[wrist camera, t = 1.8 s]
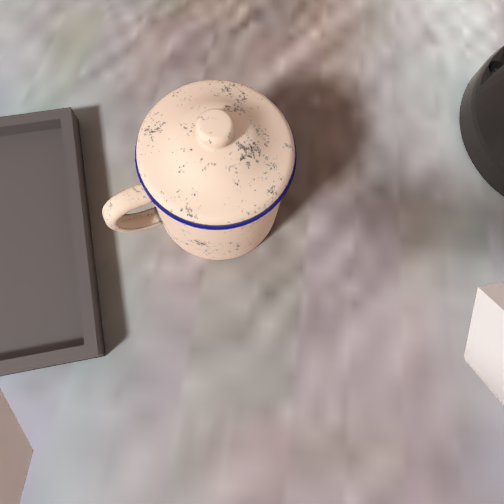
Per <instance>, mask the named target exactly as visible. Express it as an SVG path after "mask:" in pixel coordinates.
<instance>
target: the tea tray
mask: <svg viewBox="0 0 504 504" xmlns="http://www.w3.org/2000/svg"><path fill="white" fill-rule="evenodd" d="M102 356H105V347H104V338H103V330H102V321H101V312H100V304H99V295H98V286H97V278H96V269H95V260H94V251H93V243H92V234H91V225H90V217H89V208H88V199H87V191H86V182H85V173H84V165H83V156H82V147H81V139H80V130H79V121H78V119H77V117H76V116H75V114H74V112H73V110H72V109H71V107H70V108H62V109H55V110H48V111H41V112H33V113H26V114H19V115H12V116H4V117H0V376H4V375H9V374H14V373H19V372H25V371H30V370H35V369H40V368H45V367H50V366H56V365H61V364H66V363H71V362H76V361H81V360H87V359H92V358H97V357H102Z"/></svg>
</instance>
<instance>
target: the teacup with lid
mask: <svg viewBox="0 0 504 504" xmlns="http://www.w3.org/2000/svg"><path fill="white" fill-rule="evenodd" d="M135 162H136V169H137V173H138V177H139V179H140V182H141V184H138V185H136V186H133V187H131V188H128V189H126V190H123V191H121V192H119V193H118V194H116V195H114V196H113V197H112V198H111V199H109V200H108V201H107V202H106V203H105V205H104V206H103V209H102V214H103V218H104V220H105V222H106V224H107V226H108V227H109V228H111V229H113V230H115V231H119V232H137V231H142V230H146V229H149V228H152V227H155V226H157V225H160V224H164V227H165V229H166V231H167V232H168V234H169V235H170V236H171V238H172V239H173V240H174V241H175V242H176V243H177V244H178V245H179V246H180V247H181V248H183V249H184V250H186V251H187V252H189V253H191V254H193V255H196V256H198V257H201V258H206V259H212V260H225V259H232V258H235V257H239V256H241V255H244V254H246V253H248V252H249V251H251V250H253V249H254V248H255V247H257V246H258V245H259V244H260V243H261V242H262V241H263V240H264V239H265V237H266V236H267V235H268V233H269V232H270V230H271V228H272V226H273V223H274V220H275V217H276V214H277V211H278V208H279V205H280V202H281V199H282V198H283V196H284V195H285V194H286V192H287V190H288V188H289V186H290V184H291V182H292V179H293V176H294V172H295V167H296V147H295V141H294V137H293V134H292V131H291V129H290V127H289V125H288V123H287V121H286V119H285V117H284V116H283V114H282V113H281V111H280V110H279V109H278V108H277V107H276V106H275V104H273V103H272V102H271V101H270V100H269V99H268V98H267V97H265V96H264V95H263V94H261V93H259V92H258V91H256V90H254V89H252V88H250V87H248V86H245V85H243V84H240V83H236V82H232V81H225V80H204V81H198V82H193V83H190V84H187V85H184V86H182V87H180V88H178V89H176V90H174V91H172V92H171V93H169V94H167V95H166V96H165V97H163V98H162V99H161V100H160V101H159V102H158V103H157V104H156V105H155V106H154V107H153V108H152V109H151V111H150V112H149V113H148V115H147V116H146V118H145V120H144V122H143V124H142V126H141V128H140V131H139V134H138V137H137V142H136V148H135ZM150 202H153V203H154V204H155V206H156V207H154V208H151V209H148V210H145V211H142V212H138V213H134V214H126V213H127V212H129V211H131V210H133V209H135V208H137V207H140V206H142V205H145V204H148V203H150Z"/></svg>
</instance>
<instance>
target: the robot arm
mask: <svg viewBox="0 0 504 504" xmlns="http://www.w3.org/2000/svg"><path fill="white" fill-rule="evenodd" d="M460 129H461V134H462V139H463V142H464V145H465V148H466V150H467V152H468V155H469V157H470V159H471V160H472V162H473V164H474V165H475V167H476V168H477V170H478V171H479V173H480V174H481V175H482V176H483V178H484V179H485V180H486V181H487V182H488V183H489V184H490V185H491V186H492V187H493V188H494V189H495V190H496V191H498V192H499V193H500V194H501V195H503V196H504V46H503V47H501V48H500V49H499V50H497V51H496V52H495V53H494V54H493V55H492V56H491V57H490V58H489V59H488V60H487V61H486V62H485V63H484V65H483V66H482V67H481V68H480V69H479V70H478V72H477V73H476V74H475V75H474V76H473V78H472V79H471V81H470V82H469V84H468V86H467V88H466V90H465V92H464V95H463V98H462V101H461V106H460ZM464 359H465V360H466V362H467V363H468V364H469V365H470V366H471V367H472V369H473V370H474V371H475V372H476V373H477V375H478V376H479V377H480V378H481V379H482V380H483V382H484V383H485V384H486V385H487V386H488V388H489V389H490V390H491V391H492V392H493V394H494V395H495V396H496V397H497V398H498V399H499V401H500V402H501V403H502V404H503V405H504V283H503V282H500V283H495V284H490V285H484V286H479V287H478V289H477V294H476V299H475V304H474V309H473V314H472V319H471V324H470V329H469V334H468V339H467V344H466V349H465V354H464ZM32 454H33V449H32V447H31V445H30V443H29V441H28V439H27V438H26V436H25V434H24V432H23V430H22V428H21V426H20V424H19V423H18V421H17V419H16V417H15V415H14V413H13V411H12V409H11V408H10V406H9V404H8V402H7V400H6V398H5V396H4V395H3V393H2V391H1V389H0V504H19V503H20V499H21V495H22V491H23V488H24V484H25V480H26V476H27V472H28V469H29V465H30V461H31V457H32Z"/></svg>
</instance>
